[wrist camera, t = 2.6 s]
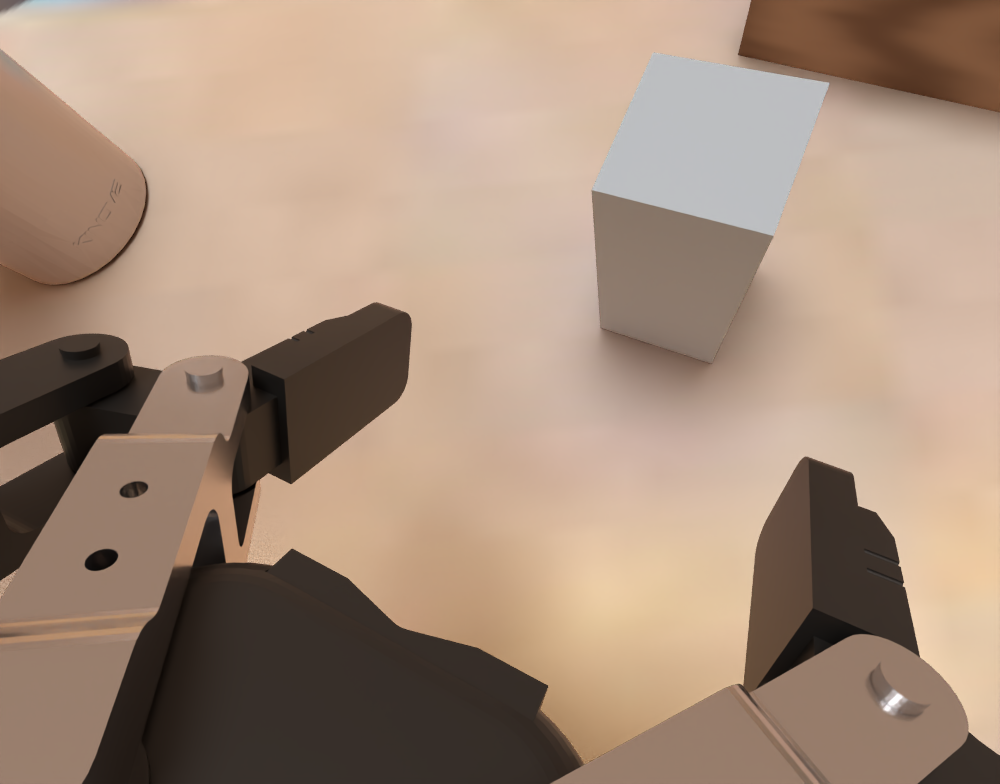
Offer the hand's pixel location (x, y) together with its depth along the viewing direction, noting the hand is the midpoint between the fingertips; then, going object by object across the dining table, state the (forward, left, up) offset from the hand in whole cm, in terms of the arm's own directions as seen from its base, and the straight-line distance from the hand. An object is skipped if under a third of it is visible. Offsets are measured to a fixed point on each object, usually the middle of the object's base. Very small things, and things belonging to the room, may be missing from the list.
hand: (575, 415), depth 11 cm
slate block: (0, +9, -13) cm, 16 cm away
